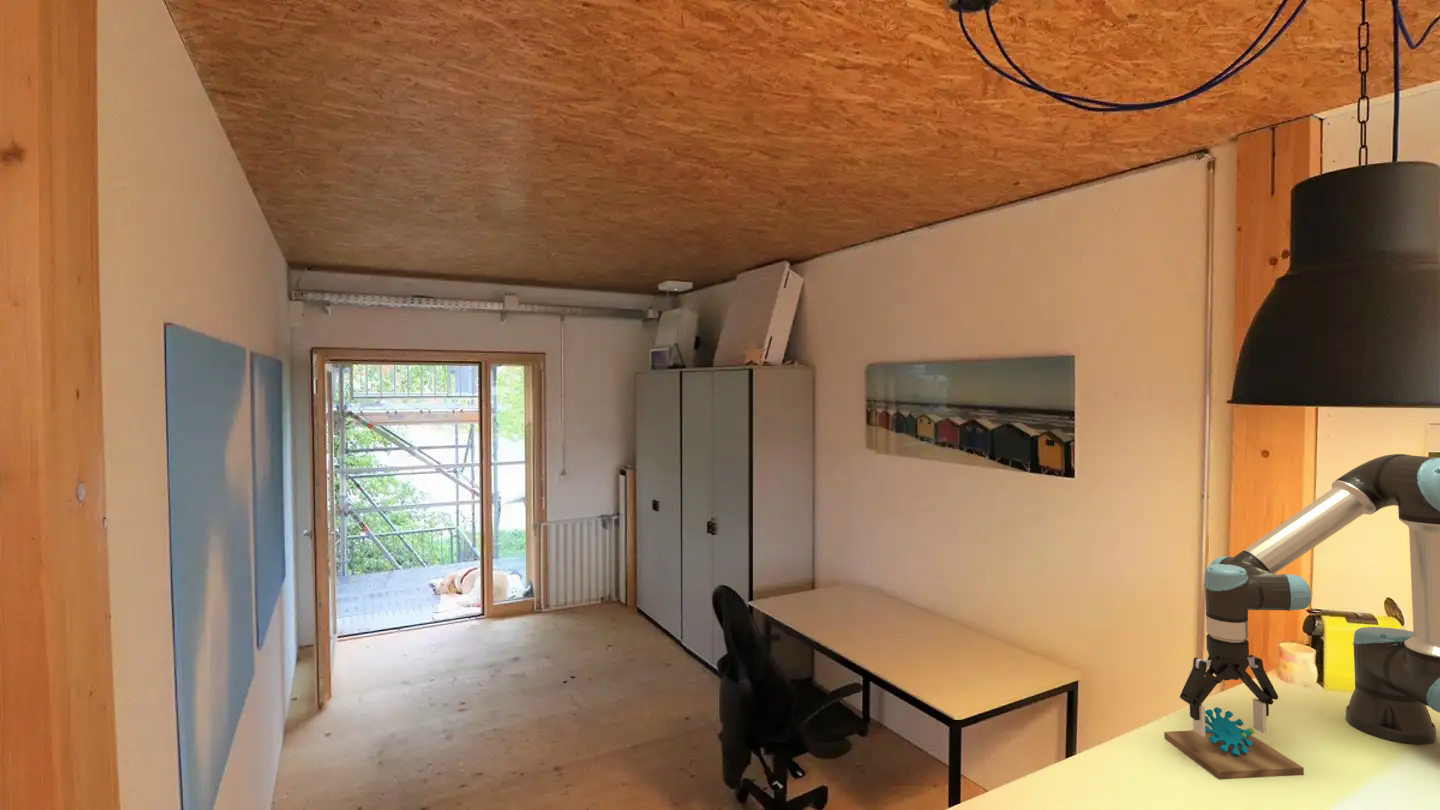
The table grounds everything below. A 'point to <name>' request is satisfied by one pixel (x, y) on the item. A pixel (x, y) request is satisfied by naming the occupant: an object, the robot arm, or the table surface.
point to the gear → (1227, 731)
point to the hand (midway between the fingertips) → (1229, 732)
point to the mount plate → (1233, 757)
